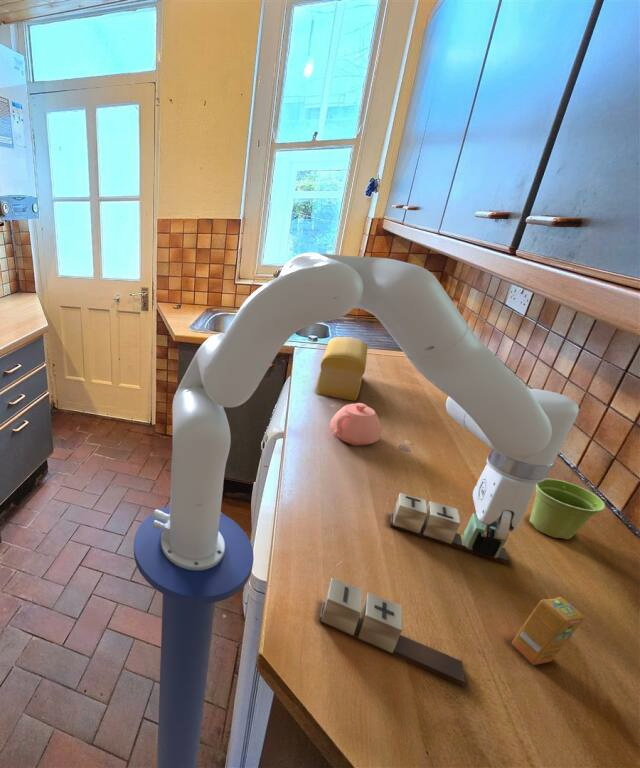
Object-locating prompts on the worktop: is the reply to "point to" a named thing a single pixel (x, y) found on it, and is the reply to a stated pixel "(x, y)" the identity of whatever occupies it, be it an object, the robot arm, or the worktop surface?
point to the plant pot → (563, 508)
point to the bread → (342, 368)
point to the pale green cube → (474, 529)
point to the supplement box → (547, 630)
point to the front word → (383, 629)
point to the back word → (433, 523)
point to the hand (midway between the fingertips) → (480, 542)
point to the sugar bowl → (356, 424)
